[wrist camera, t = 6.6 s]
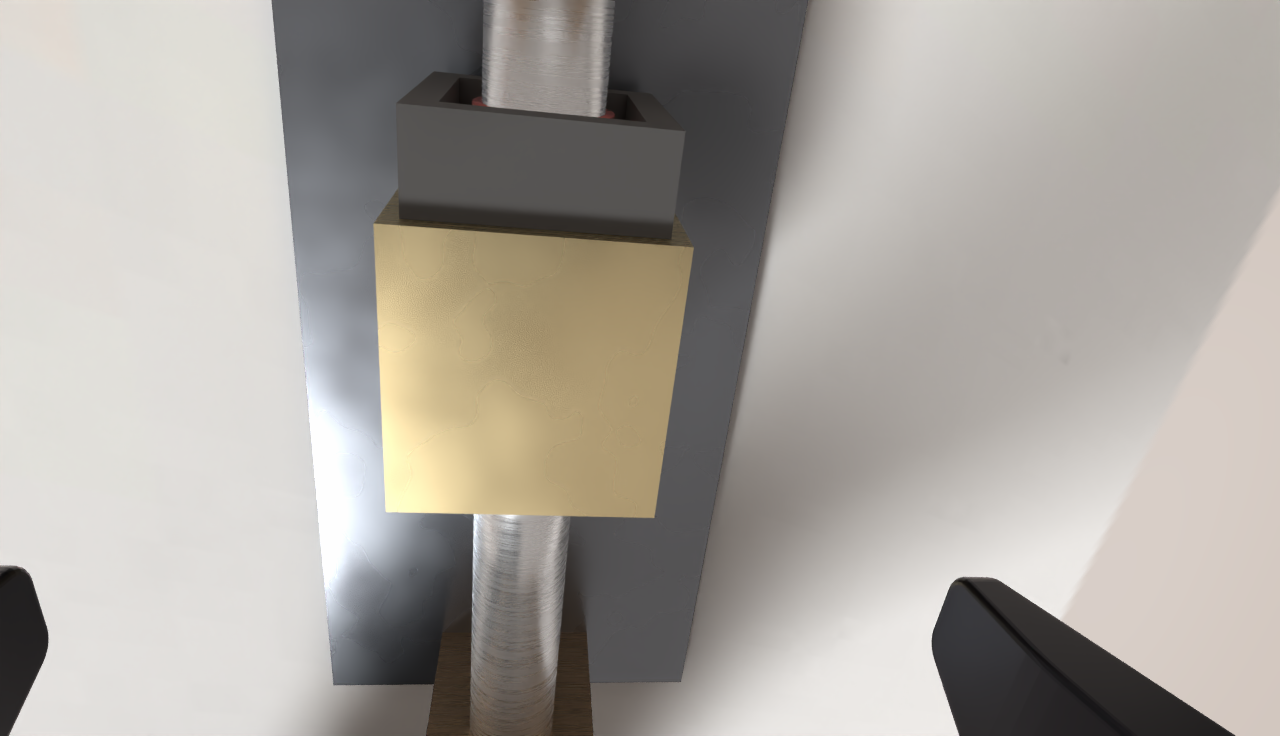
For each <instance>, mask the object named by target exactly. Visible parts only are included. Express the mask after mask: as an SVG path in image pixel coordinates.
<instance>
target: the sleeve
mask: <svg viewBox="0 0 1280 736" xmlns="http://www.w3.org/2000/svg"><path fill="white" fill-rule="evenodd" d="M373 226H374V250H375V273H376V296H377V320H378V343H379V366H380V390H381V413H382V436H383V460H384V483H385V506H386V512H405V513H451V514H497V515H543V516H589V517H635V518H654V516H655V510H656V503H657V496H658V489H659V482H660V475H661V469H662V462H663V455H664V448H665V441H666V434H667V428H668V421H669V414H670V407H671V400H672V393H673V387H674V380H675V373H676V366H677V359H678V352H679V346H680V339H681V332H682V325H683V318H684V311H685V305H686V298H687V291H688V284H689V277H690V270H691V264H692V257H693V250H694V247H693V245H692V243H691V241H690V239H689V238H688V236H687V234H686V232H685V230H684V228H683V227H682V225H681V223H680V221H679V219H678V217H677V216H676V214H675V215H674V222H673V230H672V238H671V239H658V238H645V237H632V236H619V235H606V234H592V233H579V232H566V231H553V230H539V229H526V228H513V227H500V226H487V225H473V224H460V223H447V222H434V221H420V220H407V219H399V198H398V189H397V190H396V192H395V193H394V195H393V196H392V198H391V199H390V200H389V202H388V203H387V205H386V206H385V208H384V209H383V210H382V212H381V213H380V215H379V216H378V218H377V219H376V221H375V222H374V223H373Z"/></svg>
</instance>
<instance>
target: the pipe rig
mask: <svg viewBox="0 0 1280 736" xmlns="http://www.w3.org/2000/svg"><path fill="white" fill-rule="evenodd" d="M807 4H808V0H272V10H273V21H274V32H275V43H276V54H277V65H278V76H279V87H280V98H281V109H282V120H283V132H284V143H285V154H286V165H287V176H288V187H289V198H290V209H291V220H292V231H293V242H294V253H295V264H296V275H297V286H298V297H299V308H300V319H301V330H302V342H303V353H304V364H305V375H306V386H307V397H308V408H309V419H310V430H311V441H312V452H313V463H314V474H315V485H316V496H317V507H318V518H319V529H320V540H321V551H322V563H323V574H324V585H325V596H326V607H327V618H328V629H329V640H330V651H331V662H332V673H333V684H334V685H403V684H434V689H433V696H432V702H431V708H430V715H429V721H428V727H427V734H426V736H593V724H592V708H591V692H590V683H607V682H681V679H682V673H683V668H684V662H685V657H686V652H687V646H688V641H689V636H690V630H691V625H692V620H693V614H694V609H695V604H696V598H697V593H698V588H699V582H700V577H701V571H702V566H703V561H704V555H705V550H706V545H707V539H708V534H709V529H710V523H711V518H712V513H713V507H714V502H715V496H716V491H717V486H718V480H719V475H720V470H721V464H722V459H723V454H724V448H725V443H726V438H727V432H728V427H729V422H730V416H731V411H732V405H733V400H734V395H735V389H736V384H737V379H738V373H739V368H740V363H741V357H742V352H743V347H744V341H745V336H746V331H747V325H748V320H749V314H750V309H751V304H752V298H753V293H754V288H755V282H756V277H757V272H758V266H759V261H760V256H761V250H762V245H763V239H764V234H765V229H766V223H767V218H768V213H769V207H770V202H771V197H772V191H773V186H774V181H775V175H776V170H777V165H778V159H779V154H780V148H781V143H782V138H783V132H784V127H785V122H786V116H787V111H788V106H789V100H790V95H791V90H792V84H793V79H794V74H795V68H796V63H797V57H798V52H799V47H800V41H801V36H802V31H803V25H804V20H805V15H806V9H807ZM434 71H436V72H446V73H456V74H465V75H475V76H482V96H479V97H476V98H474V99H472V105H477V106H487V107H497V108H508V109H518V110H528V111H538V112H548V113H559V114H569V115H579V116H589V117H600V118H610V119H614V116H615V114H614V113H613V112H612V111H610V110H608V109H606V102H607V90H608V89H611V90H620V91H630V92H640V93H649V94H652V95H653V96H654V97H655V98H656V99H657V100H658V101H659V103H660V104H661V105H662V106H663V107H664V108H665V109H666V110H667V111H668V113H669V114H670V115H671V116H672V117H673V118H674V119H675V120H676V121H677V122H678V124H679V125H680V126H681V127H682V128H683V129H684V130H685V131H686V132H685V139H684V147H683V155H682V162H681V170H680V177H679V185H678V192H677V200H676V207H675V214H676V216H677V217H678V219H679V221H680V223H681V225H682V227H683V228H684V230H685V232H686V234H687V236H688V238H689V239H690V241H691V243H692V245H693V247H694V250H693V257H692V264H691V270H690V277H689V284H688V291H687V298H686V305H685V311H684V318H683V325H682V332H681V339H680V346H679V352H678V359H677V366H676V373H675V380H674V387H673V393H672V400H671V407H670V414H669V421H668V428H667V434H666V441H665V448H664V455H663V462H662V469H661V475H660V482H659V489H658V496H657V503H656V510H655V516H654V518H635V517H589V516H543V515H497V514H451V513H405V512H386V506H385V483H384V460H383V436H382V413H381V390H380V366H379V343H378V320H377V296H376V273H375V250H374V226H373V223H374V222H375V221H376V219H377V218H378V216H379V215H380V213H381V212H382V210H383V209H384V208H385V206H386V205H387V203H388V202H389V200H390V199H391V198H392V196H393V195H394V193H395V192H396V190H397V189H398V162H397V126H396V103H397V102H398V101H399V100H400V99H402V98H403V97H404V96H405V95H406V94H408V93H409V92H410V91H411V90H412V89H413V88H415V87H416V86H417V85H418V84H419V83H421V82H422V81H423V80H424V79H425V78H426V77H428V76H429V75H430V74H431V73H432V72H434Z"/></svg>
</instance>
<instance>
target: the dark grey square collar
mask: <svg viewBox="0 0 1280 736" xmlns="http://www.w3.org/2000/svg"><path fill="white" fill-rule="evenodd" d="M479 96H482V76H475V75H465V74H456V73H446V72H436V71H434V72H432V73H431V74H430V75H429V76H428V77H426V78H425V79H424V80H423V81H422V82H421V83H419V84H418V85H417V86H416V87H415V88H413V89H412V90H411V91H410V92H409V93H408V94H406V95H405V96H404V97H403V98H402V99H400V100H399V101H398V102H397V103H396V126H397V162H398V198H399V219H407V220H420V221H434V222H447V223H460V224H473V225H487V226H500V227H513V228H526V229H539V230H553V231H566V232H579V233H592V234H606V235H619V236H632V237H645V238H658V239H671V238H672V230H673V222H674V215H675V207H676V200H677V192H678V185H679V177H680V170H681V162H682V155H683V147H684V139H685V132H686V131H685V130H684V129H683V128H682V127H681V126H680V125H679V124H678V122H677V121H676V120H675V119H674V118H673V117H672V116H671V115H670V114H669V113H668V111H667V110H666V109H665V108H664V107H663V106H662V105H661V104H660V103H659V101H658V100H657V99H656V98H655V97H654V96H653V95H652V94H649V93H640V92H630V91H620V90H611V89H608V90H607V102H606V109H608V110H610V111H612V112H613V113H614V114H615V116H614V119H610V118H600V117H589V116H579V115H569V114H559V113H548V112H538V111H528V110H518V109H508V108H497V107H487V106H477V105H472V99H474V98H476V97H479Z"/></svg>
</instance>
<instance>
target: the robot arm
mask: <svg viewBox="0 0 1280 736" xmlns="http://www.w3.org/2000/svg"><path fill="white" fill-rule="evenodd" d="M47 649H48V630H47V626H46V623H45V620H44V616H43V613H42V610H41V607H40V604H39V600H38V597H37V594H36V591H35V588H34V584H33V581H32V578H31V576H30V574H29V573H28V572H27V571H26V570H25V569H23V568H21V567H18V566H0V736H9V734H10V732H11V730H12V728H13V726H14V723H15V721H16V719H17V717H18V715H19V713H20V711H21V709H22V706H23V704H24V702H25V700H26V698H27V696H28V694H29V691H30V689H31V687H32V685H33V683H34V681H35V679H36V677H37V674H38V672H39V670H40V668H41V666H42V664H43V661H44V659H45V656H46V653H47ZM932 651H933V656H934V660H935V663H936V666H937V669H938V672H939V675H940V678H941V681H942V684H943V687H944V691H945V694H946V697H947V700H948V703H949V706H950V709H951V712H952V715H953V718H954V721H955V724H956V727H957V730H958V733H959V736H1235V735H1234V734H1232V733H1231V732H1229V731H1227V730H1226V729H1225V728H1223V727H1222V726H1220V725H1219V724H1217V723H1215V722H1214V721H1212V720H1211V719H1209V718H1208V717H1206V716H1204V715H1203V714H1202V713H1200V712H1199V711H1197V710H1196V709H1194V708H1193V707H1191V706H1190V705H1188V704H1186V703H1185V702H1183V701H1182V700H1180V699H1179V698H1177V697H1176V696H1174V695H1173V694H1171V693H1170V692H1168V691H1166V690H1165V689H1164V688H1162V687H1161V686H1159V685H1157V684H1156V683H1154V682H1153V681H1151V680H1150V679H1148V678H1147V677H1145V676H1144V675H1142V674H1141V673H1139V672H1138V671H1136V670H1135V669H1133V668H1131V667H1130V666H1128V665H1127V664H1126V663H1124V662H1122V661H1121V660H1119V659H1118V658H1116V657H1115V656H1113V655H1111V654H1110V653H1109V652H1107V651H1106V650H1104V649H1102V648H1101V647H1100V646H1098V645H1096V644H1095V643H1093V642H1092V641H1090V640H1089V639H1087V638H1086V637H1084V636H1083V635H1081V634H1080V633H1078V632H1077V631H1075V630H1074V629H1072V628H1071V627H1069V626H1068V625H1066V624H1065V623H1063V622H1062V621H1060V620H1058V619H1057V618H1055V617H1054V616H1052V615H1051V614H1049V613H1048V612H1046V611H1045V610H1043V609H1042V608H1040V607H1039V606H1037V605H1036V604H1034V603H1033V602H1031V601H1030V600H1028V599H1026V598H1025V597H1023V596H1022V595H1020V594H1019V593H1017V592H1016V591H1014V590H1013V589H1011V588H1010V587H1008V586H1007V585H1005V584H1004V583H1002V582H1000V581H999V580H997V579H994V578H989V577H961V578H958V579H956V580H955V581H954V582H953V583H952V584H951V586H950V588H949V590H948V593H947V596H946V598H945V601H944V604H943V606H942V609H941V612H940V614H939V617H938V620H937V622H936V625H935V628H934V630H933V634H932Z"/></svg>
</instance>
